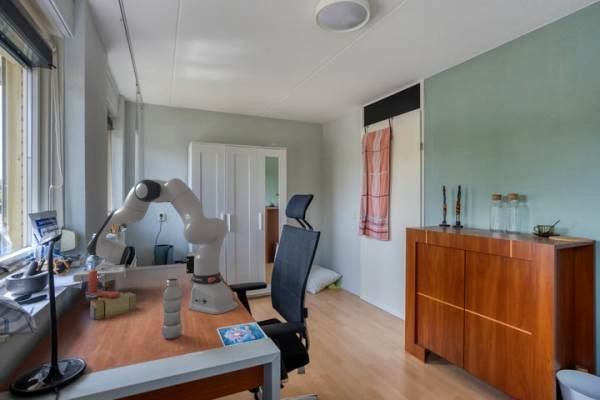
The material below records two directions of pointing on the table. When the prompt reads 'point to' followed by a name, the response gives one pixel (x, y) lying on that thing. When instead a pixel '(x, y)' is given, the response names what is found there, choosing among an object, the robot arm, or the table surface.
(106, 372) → the table surface
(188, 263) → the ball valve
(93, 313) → the olive yellow box
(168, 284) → the plastic bottle
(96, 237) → the robot arm
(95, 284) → the lever
